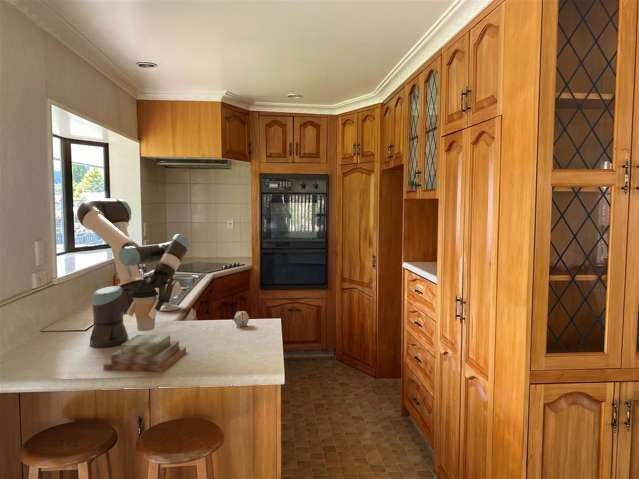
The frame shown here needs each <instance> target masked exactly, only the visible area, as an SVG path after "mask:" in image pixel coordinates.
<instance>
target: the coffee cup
mask: <svg viewBox="0 0 639 479" xmlns="http://www.w3.org/2000/svg"><path fill="white" fill-rule="evenodd" d="M157 295H158V292H157V291H156V289H154V288H143V289H137V290H134V293H133V294H132V297H133V301H134V310H135V313H134V315H135V320H136V326H137V330H138V331H139V332H149V331H152V330H155V326H156V316H157V314H156V315H155V317H154V319H152V318H151V317H150V316H149V315H148V314H149V312H150V311H151V309H152V307H153V305H154V303H155V302H156V300H158V298H157V297H158V296H157Z"/></svg>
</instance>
